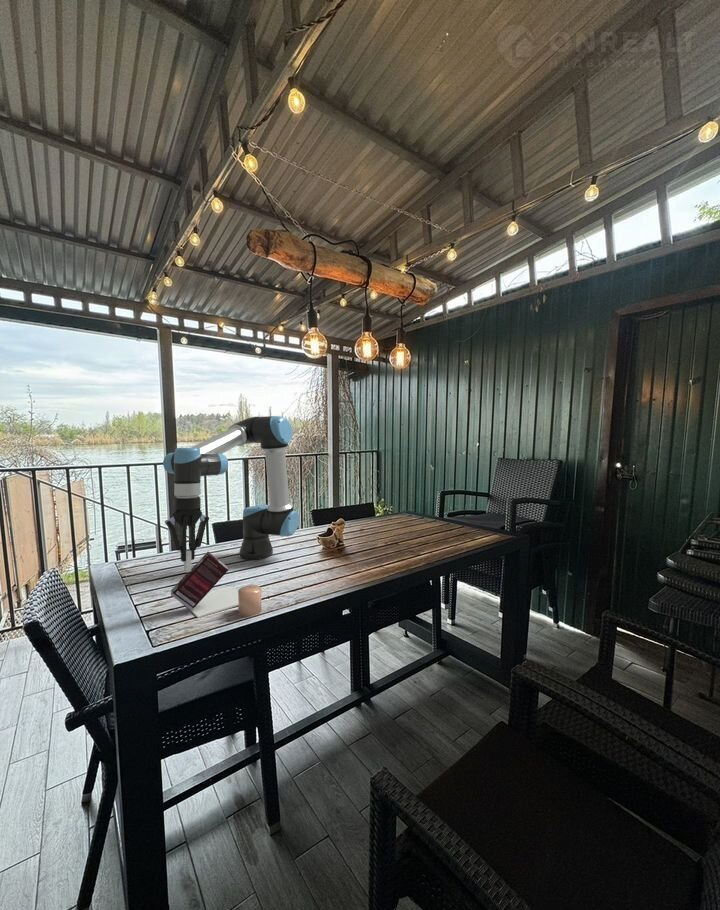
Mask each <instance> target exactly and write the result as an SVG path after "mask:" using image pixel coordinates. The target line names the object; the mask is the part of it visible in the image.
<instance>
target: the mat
mask: <svg viewBox="0 0 720 910" xmlns="http://www.w3.org/2000/svg"><path fill="white" fill-rule="evenodd" d="M236 607H238V589H236V588H235V587H233V586H232V585H231V586H226V587H223V588H218V589H216V590H213V591H211V590H210V591H209V592H208V593H207V595H206V596H205V597H204V598H203V599H202V600H201V601H200V602H199V603H198V604H197V606H196V607H195V608H194V609H193V610H190V612H192V613H193V615H194V616H195V617H196V618H197V619H200V618H204V617H207V616H210V615H212V614H216V613H219V612H223V611H225V610H229V609H232V608H236Z"/></svg>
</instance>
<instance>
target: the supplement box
mask: <svg viewBox="0 0 720 910" xmlns="http://www.w3.org/2000/svg"><path fill="white" fill-rule="evenodd" d="M228 571H229V568H228V566H227V565H226V564H225V563H224V562H223V561H221V560H220V559H219V558H217V557H216V556H215V555H213V554H212V553H211V552H210V551H207V552H206V553H205V554H204V555H203V556H202V557H201V558H200V559H199V560H198V561H197V562H196V563H195V565H194V566H193V567H191V572H186V574H185V575H183V577H182V578H181V579H180V580H179V581H178V582H177V584H175V586H174V587H172V589H171V590H170V597H173V598H174V599H176V601H178V602H179V603H181V604H182V605H183V606H185V607H186V608H187V609H188V610H190V611H191V610H193V609H194V608H195V607H196V606H197V604H198V603H199V602H200V601H201V600H202V599H203V598H204V597H205V596H206V595H207V593H208V592H211V590H212V589H213V588H214V587H215V586H216V585H217V584H218V582H220V580H221V579H222V578H223V577H224V576H225V574H227V573H228Z"/></svg>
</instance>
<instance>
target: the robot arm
mask: <svg viewBox="0 0 720 910" xmlns="http://www.w3.org/2000/svg"><path fill="white" fill-rule="evenodd" d="M292 439H293V428H292V424H291V423H290V421H289V420H288V418H286V417H285V416H279V415H270V416H269V415H268V416H251V417H248V418H245V419H242V420H240V421H238V422H236V423H234V424H232V425H230V426H229V427H228V428H227V429H226V430H224V431H222V432H220V433H218V434H217V435H214V436H211V437H210V438H208V439H206V440H204V441H202V442H199V443H197V444H195V445H193V446H191V447H178V448H175V449H174V452H170V453H167V454H165V456H164V458H163V460H162V466H163V468H164V470H165V471H166V472H167V473H168V474H173V475H174V476H173V479H174V490H173V493H174V495H173V496H174V499H173V502H174V504H173V506H174V507H173V509H174V510H173V514H172V517H170V518H169V519H165V521H164V524H165V525H166V526H167V528H168V532H169V535H170V538H171V542H172V545H173V549H174V550H176V551H180V561H181V562H182V563H183V571H184V572H185V573H188V572H191V569H192V561H193V560H195V557H196V553H195V552H196V549H197V548H200V547H201V546H202V542H203V538H204V533H205V530H206V527H207V523H208V522H209V520H210V517H209V516H207V515H205V514H203V512H202V510H201V505H202V504H201V501H202V499H201V496H200V495H201V489H202V488H201V478H202V477H209V476H219V475H223V474H225V473H226V472H227V471H228V469H229V460H228V458H227V456H226V455H224V453H226V452H228V451H229V450H231V449H233V448H235V447H243V446H244V445H246V444H260V449H261V450H262V451H263V452H264V455H265V465H266V475H267V486H268V488H267V489H268V496H269V497H268V498H269V505H268V504H258V505H252V506H248V507H245V508H244V509H243V511H242V532H243V533H242V534H243V535H242V536H243V537H242V541H241V545H240V549H239V558H241V559H242V560H246V561H247V560H248V561H249V560H251V561H254V560H262V559H267V558H270V557H272V556H273V553H274V549H273V546H272V543H271V542H272V541H271V540H270V536H278V537H283V538H284V537H291V536H294V534H295V533H296V531H297V530H298V527H299V524H300V514H299V512H298V511H297V510H294V505H293V503H292V502H290V492H289V484H288V483H289V482H288V471H287V459H286V449H288V448H289V443H290V442H292ZM198 521H199V524H198V525H199V526H198V528H197V532H196V527H197V526H196V524H197V523H198ZM175 522H176V524H178V525H179V534H180V535H179V537H178V534H177V532H176V527H175V525H176V524H175ZM187 531H188V536H187ZM187 537H188V540H187ZM187 541H188V543H187ZM187 544H188V548H187Z"/></svg>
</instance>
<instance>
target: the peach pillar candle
mask: <svg viewBox="0 0 720 910" xmlns="http://www.w3.org/2000/svg"><path fill="white" fill-rule="evenodd" d="M237 591H238V606H237V607H238V608H237V609H238V616H239V615H240V616H242V617H254V616H256V615H258V614H260V613H261V612H262V586H260V585H255V584H251V585H245V586H242V587H240V588H238V589H237Z"/></svg>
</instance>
